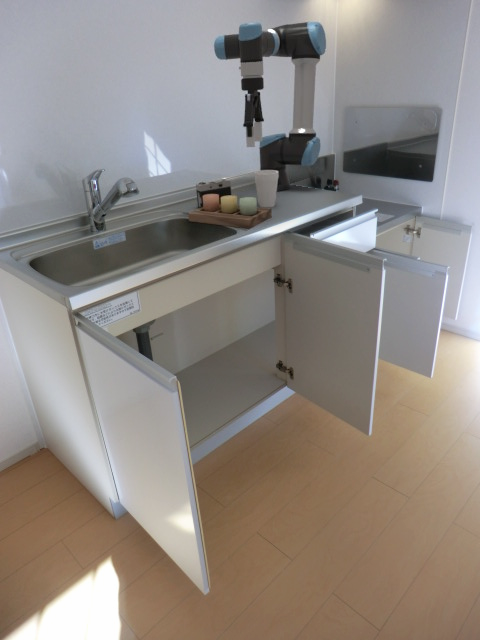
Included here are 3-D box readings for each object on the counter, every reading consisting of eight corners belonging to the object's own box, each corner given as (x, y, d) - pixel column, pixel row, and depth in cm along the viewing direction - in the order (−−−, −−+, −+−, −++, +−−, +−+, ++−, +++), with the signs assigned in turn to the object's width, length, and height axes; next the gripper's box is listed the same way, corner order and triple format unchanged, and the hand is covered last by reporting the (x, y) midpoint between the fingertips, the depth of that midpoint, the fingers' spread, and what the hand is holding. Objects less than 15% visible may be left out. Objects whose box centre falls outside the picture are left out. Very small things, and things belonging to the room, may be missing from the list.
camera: (223, 200, 206) (221, 176, 201) (232, 204, 199) (231, 179, 195) (193, 205, 200) (191, 181, 195) (202, 209, 193) (199, 184, 189)
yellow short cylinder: (227, 208, 180) (226, 194, 178) (240, 209, 177) (240, 196, 175) (218, 212, 176) (217, 198, 174) (232, 213, 173) (231, 199, 171)
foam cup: (277, 208, 189) (276, 174, 183) (253, 208, 191) (252, 174, 185) (280, 202, 197) (279, 169, 191) (257, 202, 199) (256, 170, 193)
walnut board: (213, 210, 190) (212, 203, 189) (271, 217, 178) (271, 208, 176) (189, 221, 178) (188, 213, 177) (249, 228, 166) (249, 219, 164)
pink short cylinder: (209, 206, 184) (208, 193, 182) (222, 207, 181) (221, 194, 179) (200, 210, 180) (199, 196, 177) (213, 211, 177) (212, 198, 175)
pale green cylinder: (245, 210, 176) (244, 196, 174) (259, 211, 174) (259, 197, 171) (237, 214, 172) (236, 200, 170) (251, 215, 169) (250, 201, 167)
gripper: (249, 76, 173) (251, 139, 182) (232, 78, 151) (236, 149, 161) (269, 75, 171) (271, 138, 181) (255, 77, 150) (258, 149, 159)
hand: (254, 144), depth 171 cm, fingers open, 13 cm apart
